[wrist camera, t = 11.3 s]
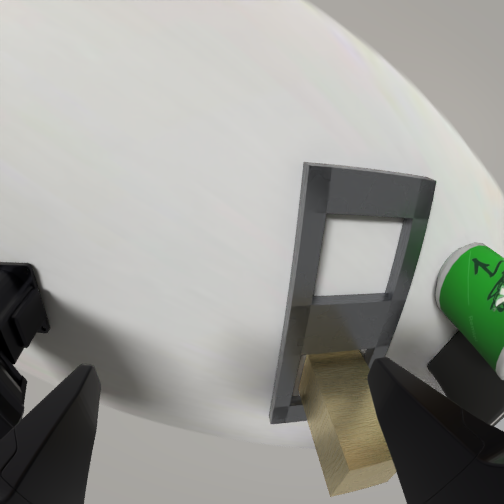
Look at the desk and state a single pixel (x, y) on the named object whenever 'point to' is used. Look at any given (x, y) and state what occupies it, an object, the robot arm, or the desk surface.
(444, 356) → the battery charger
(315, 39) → the desk surface
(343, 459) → the block
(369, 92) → the desk surface
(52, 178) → the desk surface
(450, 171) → the desk surface
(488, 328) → the soda can
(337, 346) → the grey rectangular frame
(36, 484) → the robot arm
